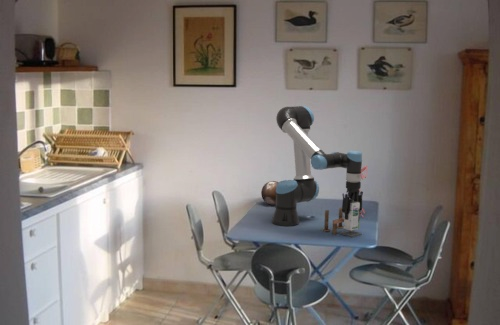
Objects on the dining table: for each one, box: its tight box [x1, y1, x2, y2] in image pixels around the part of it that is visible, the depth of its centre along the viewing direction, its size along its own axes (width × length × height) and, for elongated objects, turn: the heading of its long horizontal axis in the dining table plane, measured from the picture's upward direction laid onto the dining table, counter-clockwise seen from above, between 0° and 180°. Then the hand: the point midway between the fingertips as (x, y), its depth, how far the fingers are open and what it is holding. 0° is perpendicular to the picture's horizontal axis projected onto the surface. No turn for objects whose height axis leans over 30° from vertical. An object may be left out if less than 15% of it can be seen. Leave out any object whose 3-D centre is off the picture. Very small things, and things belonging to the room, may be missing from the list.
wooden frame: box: [321, 207, 344, 235], centre depth 320 cm, size 10×15×11 cm, turn 129°
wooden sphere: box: [261, 180, 279, 206], centre depth 377 cm, size 15×15×15 cm
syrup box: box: [343, 201, 361, 231], centre depth 312 cm, size 6×6×14 cm
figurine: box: [359, 165, 368, 218], centre depth 354 cm, size 15×26×35 cm, turn 163°
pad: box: [339, 230, 362, 238], centre depth 313 cm, size 8×8×1 cm
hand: (351, 224), depth 312 cm, fingers closed on syrup box, 6 cm apart
